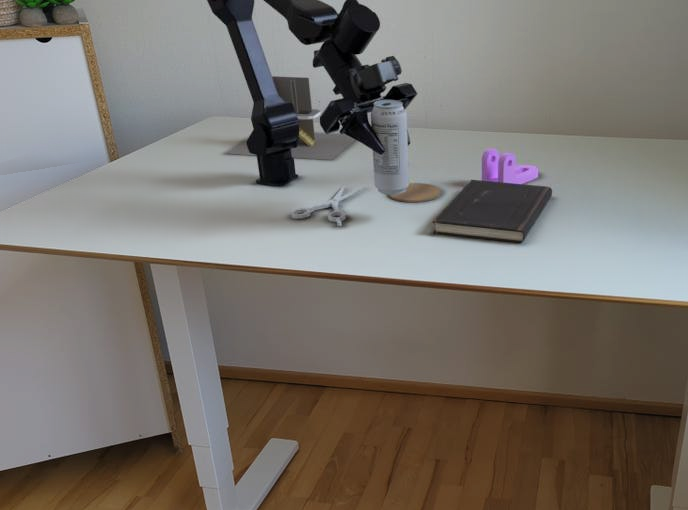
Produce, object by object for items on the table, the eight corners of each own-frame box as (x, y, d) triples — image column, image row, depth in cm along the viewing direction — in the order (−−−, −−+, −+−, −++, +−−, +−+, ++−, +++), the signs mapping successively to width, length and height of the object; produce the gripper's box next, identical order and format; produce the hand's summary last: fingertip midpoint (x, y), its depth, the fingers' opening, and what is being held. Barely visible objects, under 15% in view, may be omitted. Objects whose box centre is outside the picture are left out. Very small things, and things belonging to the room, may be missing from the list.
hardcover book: (433, 233, 136) (432, 220, 135) (471, 190, 155) (471, 179, 154) (523, 243, 132) (524, 230, 131) (551, 198, 151) (552, 186, 150)
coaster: (380, 198, 152) (380, 196, 151) (401, 182, 160) (401, 180, 159) (428, 204, 149) (428, 202, 148) (448, 188, 157) (448, 186, 156)
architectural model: (331, 159, 173) (325, 90, 166) (225, 153, 178) (214, 85, 170) (360, 135, 190) (355, 71, 182) (262, 130, 194) (254, 67, 187)
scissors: (284, 217, 141) (330, 181, 158) (285, 221, 142) (330, 184, 158) (340, 222, 139) (380, 185, 155) (340, 226, 139) (380, 189, 156)
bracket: (503, 191, 155) (503, 156, 151) (481, 185, 158) (481, 150, 155) (543, 175, 163) (545, 141, 160) (522, 169, 166) (523, 136, 163)
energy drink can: (415, 188, 141) (413, 101, 133) (396, 198, 137) (392, 109, 129) (388, 182, 144) (384, 97, 136) (368, 191, 139) (362, 104, 131)
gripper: (324, 49, 123) (378, 133, 123) (407, 33, 136) (456, 110, 135) (297, 93, 132) (347, 172, 132) (377, 74, 144) (423, 147, 144)
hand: (395, 149), depth 135 cm, fingers closed on energy drink can, 6 cm apart
